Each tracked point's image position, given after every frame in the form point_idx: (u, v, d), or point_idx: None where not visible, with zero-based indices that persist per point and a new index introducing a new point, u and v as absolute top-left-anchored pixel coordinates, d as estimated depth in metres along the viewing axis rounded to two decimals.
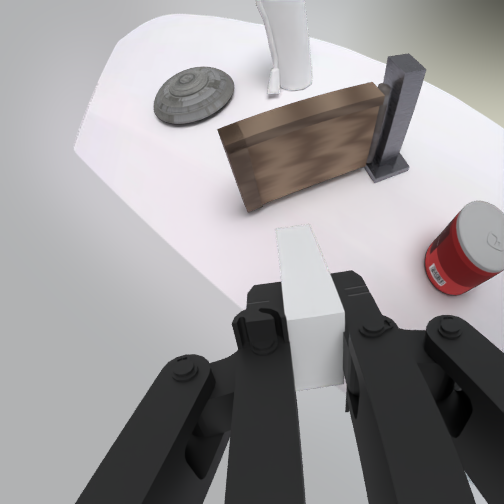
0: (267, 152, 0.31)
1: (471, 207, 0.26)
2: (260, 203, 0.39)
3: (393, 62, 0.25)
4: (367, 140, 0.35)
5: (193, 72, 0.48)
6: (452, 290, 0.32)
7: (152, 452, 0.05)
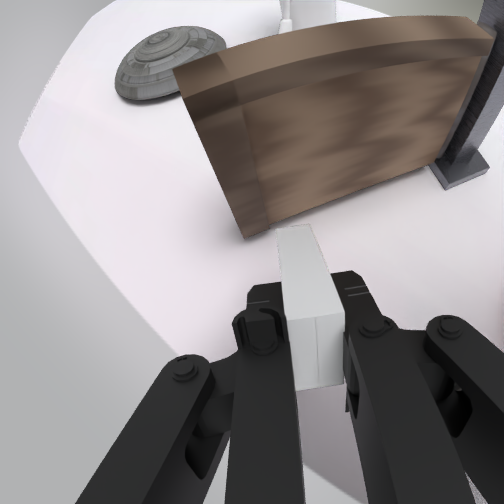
0: (285, 122, 0.14)
1: None
2: (266, 223, 0.22)
3: None
4: (450, 118, 0.17)
5: (169, 30, 0.31)
6: None
7: (152, 452, 0.05)
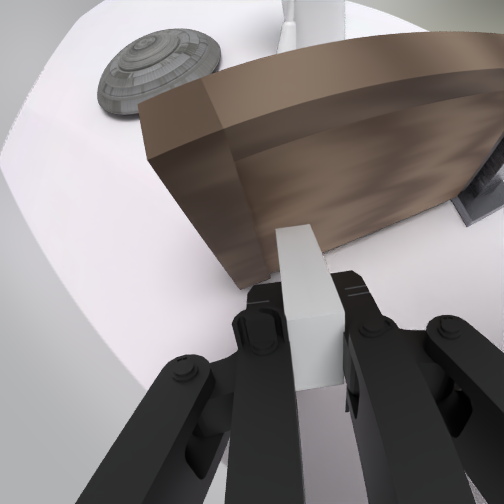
0: (296, 174, 0.11)
1: None
2: (266, 275, 0.19)
3: None
4: (483, 153, 0.14)
5: (156, 34, 0.27)
6: None
7: (152, 452, 0.05)
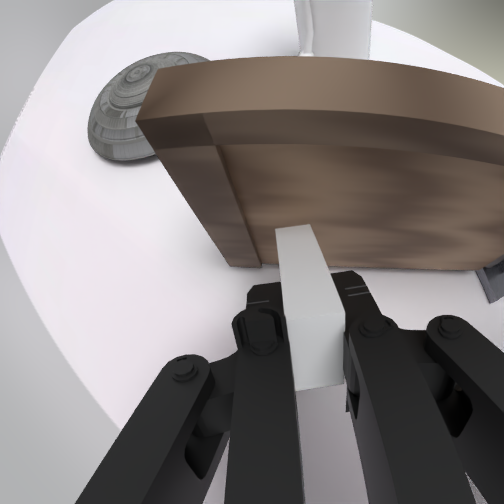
0: (286, 178, 0.11)
1: None
2: (256, 263, 0.19)
3: None
4: None
5: (152, 61, 0.25)
6: None
7: (152, 452, 0.05)
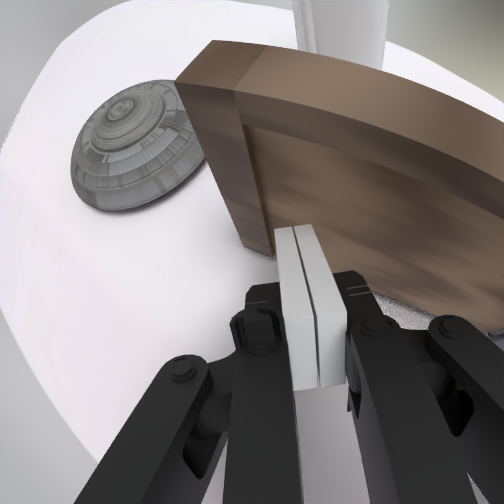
0: (306, 176, 0.11)
1: None
2: (268, 251, 0.19)
3: None
4: None
5: (136, 94, 0.23)
6: None
7: (150, 452, 0.05)
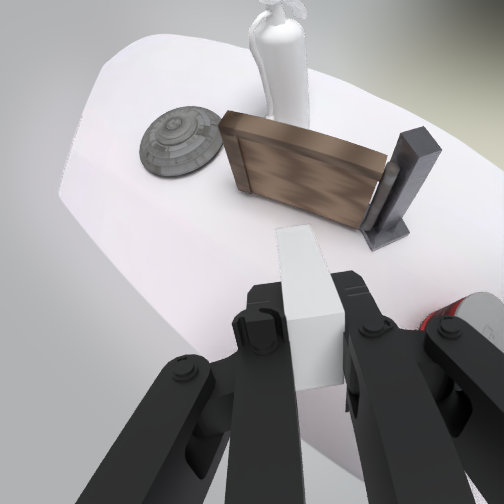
0: (256, 152, 0.34)
1: (470, 300, 0.26)
2: (249, 190, 0.43)
3: (406, 141, 0.25)
4: (361, 206, 0.34)
5: (181, 115, 0.47)
6: None
7: (152, 452, 0.05)
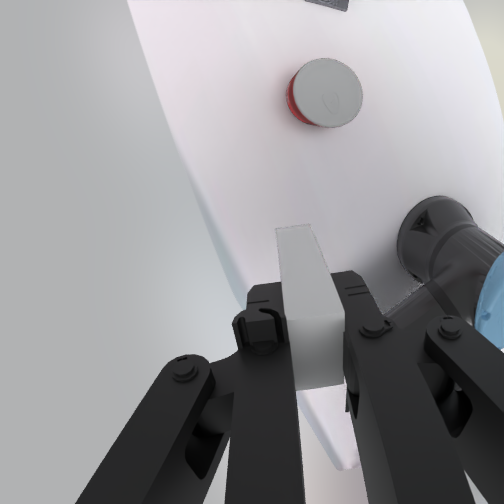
0: None
1: (332, 63, 0.29)
2: None
3: None
4: None
5: None
6: (292, 112, 0.39)
7: (152, 452, 0.05)
